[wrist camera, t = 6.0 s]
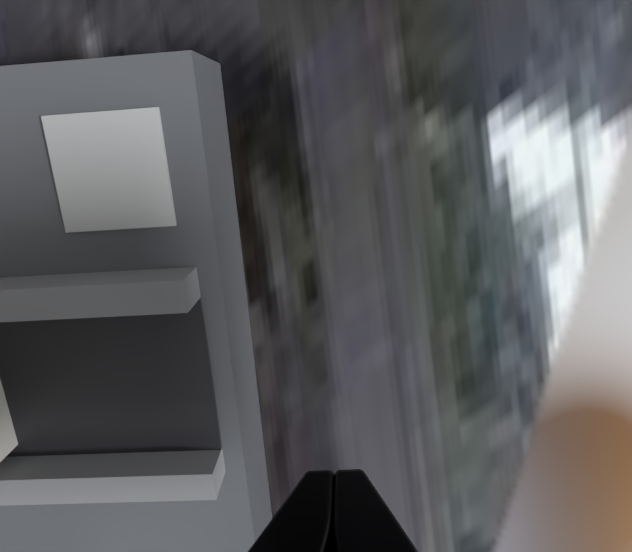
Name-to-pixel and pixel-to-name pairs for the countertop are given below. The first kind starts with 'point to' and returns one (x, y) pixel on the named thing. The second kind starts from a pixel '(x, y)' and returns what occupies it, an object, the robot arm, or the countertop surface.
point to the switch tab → (6, 427)
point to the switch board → (125, 312)
